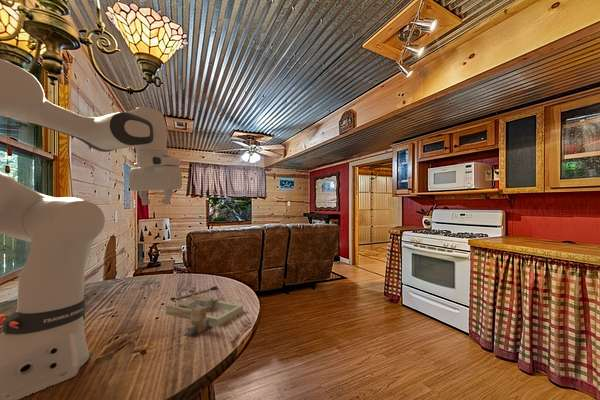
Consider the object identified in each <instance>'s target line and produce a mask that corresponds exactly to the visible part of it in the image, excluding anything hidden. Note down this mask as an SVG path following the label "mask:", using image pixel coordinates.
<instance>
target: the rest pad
mask: <svg viewBox="0 0 600 400" xmlns="http://www.w3.org/2000/svg"><path fill="white" fill-rule="evenodd" d="M213 327H214V325H211V324H209V326H208V327H206V329H205V330H204V331H202V332H200V333H195V334H194V335H192V336H189V335H188V331H187V332H185V333H184V334H183V336H184V337H187V338H190V339H191V338H192V339H194V338H195V337H198V336H199V335H201V334H202V333H205V332H206V331H208V330H210V329H211V328H213Z"/></svg>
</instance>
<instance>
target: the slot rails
mask: <svg viewBox="0 0 600 400" xmlns="http://www.w3.org/2000/svg"><path fill="white" fill-rule="evenodd" d="M190 297H191V298H190V300H193V301H196V300H197V299H199V298H202V297H204V295H203V296H202V295H198V294H196V295H192V296H190ZM212 298H213V297H212ZM217 301H219V299H218V298H213V305H212V308H215V309H216V302H217ZM191 313H192V309H188V308H183V307H179V306H178V305H173V304H166V305H165V314H167V315H171V316H176V317H180V318H183V319H188V320H191Z"/></svg>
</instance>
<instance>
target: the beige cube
mask: <svg viewBox="0 0 600 400" xmlns="http://www.w3.org/2000/svg"><path fill="white" fill-rule="evenodd" d="M212 305H213V297H209V296H204V295H203V297H202V298H199V299H197V300H196V307H198V306H202V307H206V312H207V311H208V310H211V309H213V307H212Z"/></svg>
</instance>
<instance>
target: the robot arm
mask: <svg viewBox="0 0 600 400" xmlns="http://www.w3.org/2000/svg"><path fill="white" fill-rule="evenodd" d="M0 116H1V117H6V118H10V119H15V120H18V121H23V122H27V123H31V124H34V125H36V126H38V127H39V126H40V127H43V128H45V129H47V130H51V131H54V132H57V133H60V134H64V135H66V136H70V137H72V138H75V139H77V140H79V141H81V142H83V143H84V144H86V145H87V146H88V147H90V148H92V149H94V150H95V151H98V152H102V153H108V152H113V151H116V150H120V149H127V148H135V154H136V155H135V156H136V157H135V158H136V162H135V163H133V165H132V166H131V167H130V170H129V180H128V183H129V185H128V186H129V189H130V191H131V192H136V191H137V192H138V196H139V198H140V199H141V204H142V206H145V205H146V206H148V205H150V204H151V202H150V201H151V199H150V198H149V197H148V191H163V194H164V197H163V198H162V199H161V202H162V205H163V206H166V205H167V206H168V205H171V199H172V196H173V193H174V190H176V191H177V190H181V189H182V187H183V173H182V169H181V167H180V166H181V165H182V164H181V163H182V161H181V159H180V158H177V157H174V156H171V155H169V150H168V148H167V141H168V131H167V123H166V120H165V117H164V115H163V114H162V112H161V111H159V110H158V109H156V108H153V107H149V106H138V107H135V109H132V110H129V111H121V112H119V111H118V112H114V113H109V114H106V115H102V116H96V117H93V116H92V117H91V116H90V117H89V116H88V117H87V116H84V115H81V114H78V113H76V112H74V111H72V110H68V109H67V108H64V107H61V106H59V105H58V104H54V103H52V102H50V101H49V100H48V99H47V98H46V97H45V91H44V89H43V86H42V84H41V83H40V81H39V80H38V79H37V77H36V76H35V75H33V74H32V73H30V72H28V71H27V70H25V69H24V68H22V67H20V66H18V65H16V64H14V63H11V62H10V61H8V60H6V59H3V58H1V57H0ZM105 221H106V218H105V214H104V211H103V210H102V209H101V208H100V207H99V206H98V205H97V204H95V203H94V202H91V201H88V200H86V199H83V198H80V197H73V196H64V197H62V196H60V197H58V196H57V197H56V196H51V195H46V194H44V193H41V192H38V191H37V190H35V189H32V188H30V187H29V186H26V185H25V184H22V183H21V182H19V181H17V180H15V179H13V177H11V176H10V175H8V174H6V173H3V172H1V171H0V235H2V236H7V237H10V238H12V239H13V238H14V239H18V240H20V241H25V242H29V243H31V245H30V249H29V251H28V256H27V259H26V262H25V264H24V266H23V268H22V269H21V270H20V272H19V274H18V280H17V281H18V282H17V283H18V284H17V298H16V299H17V301H16V302H17V303H16V304H17V306H16V309H15V310H14V312H12V313H11V314H10V315H6V314H4V313H0V326H2V332H1V333H0V400H21V399H23V398H26V397H27V396H30V394H31V395H32V393H33V394H35V393H37V392H41V391H42V390H45V389H48V388H50V387H52V385H53V386H56V385H58V384H60V383H62V382H64V381H66V380H70V379H72V378H73V377H75V376H77V375H78V373H79V371H80V368H81V367H82V366H83V365H84V364H86V362H87V361H88V360H89V359H90V356H91V353H90V351H89V349H88V348H89V347H88V344H87V341H86V335H85V325H84V324H85V323H84V321H85V320H86V319H85V318H86V298H85V297H84V291H85V290H84V289H85V287H84V286H85V276H86V275H85V272H86V267H87V266H86V265H87V263H88V258H89V256H90V255H89V254H90V251H91V249H92V246H93V245H94V241H95V239H96V238H97V237H98V236H100V234H101V232H102V231H103V230H104V227H105ZM49 386H50V387H49ZM47 387H48V388H47ZM25 396H26V397H25Z"/></svg>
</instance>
